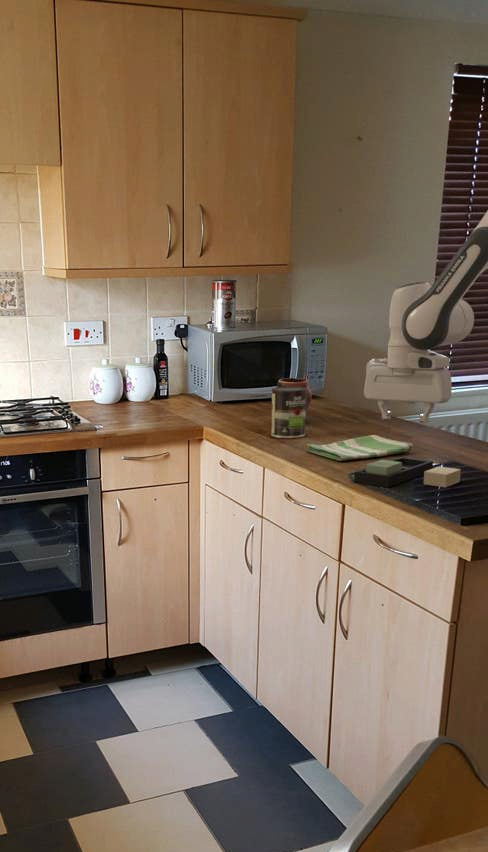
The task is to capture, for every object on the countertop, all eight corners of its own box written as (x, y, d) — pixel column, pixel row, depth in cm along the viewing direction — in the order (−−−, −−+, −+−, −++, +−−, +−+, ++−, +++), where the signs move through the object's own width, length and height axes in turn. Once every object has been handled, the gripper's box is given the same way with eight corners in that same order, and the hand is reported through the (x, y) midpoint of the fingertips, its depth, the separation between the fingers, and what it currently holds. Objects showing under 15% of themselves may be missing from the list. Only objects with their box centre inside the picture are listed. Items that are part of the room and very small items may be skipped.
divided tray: (432, 471, 214) (433, 461, 213) (388, 487, 200) (388, 476, 199) (399, 466, 220) (400, 456, 219) (354, 482, 206) (354, 471, 205)
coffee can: (311, 436, 263) (313, 388, 258) (282, 439, 259) (283, 391, 254) (293, 431, 272) (294, 385, 267) (264, 434, 268) (265, 387, 263)
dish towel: (304, 451, 242) (305, 441, 241) (375, 443, 250) (375, 433, 249) (341, 463, 226) (341, 452, 225) (415, 453, 234) (416, 443, 233)
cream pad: (459, 481, 203) (460, 469, 202) (445, 487, 198) (446, 474, 197) (437, 478, 207) (438, 466, 206) (423, 484, 202) (424, 471, 201)
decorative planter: (320, 426, 279) (321, 382, 274) (283, 428, 277) (284, 383, 272) (300, 416, 298) (301, 375, 293) (265, 418, 296) (265, 377, 291)
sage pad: (401, 474, 207) (402, 462, 206) (386, 480, 202) (386, 467, 201) (380, 471, 211) (381, 459, 210) (365, 477, 206) (365, 464, 205)
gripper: (359, 359, 201) (357, 419, 205) (443, 361, 187) (439, 426, 192) (374, 356, 205) (371, 416, 209) (456, 358, 191) (452, 422, 196)
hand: (404, 420), depth 200 cm, fingers open, 8 cm apart
